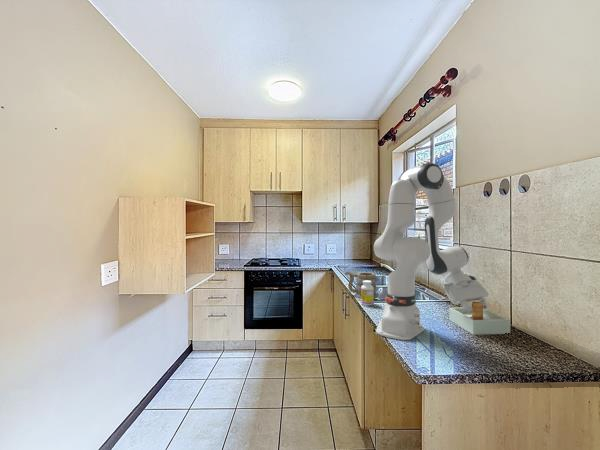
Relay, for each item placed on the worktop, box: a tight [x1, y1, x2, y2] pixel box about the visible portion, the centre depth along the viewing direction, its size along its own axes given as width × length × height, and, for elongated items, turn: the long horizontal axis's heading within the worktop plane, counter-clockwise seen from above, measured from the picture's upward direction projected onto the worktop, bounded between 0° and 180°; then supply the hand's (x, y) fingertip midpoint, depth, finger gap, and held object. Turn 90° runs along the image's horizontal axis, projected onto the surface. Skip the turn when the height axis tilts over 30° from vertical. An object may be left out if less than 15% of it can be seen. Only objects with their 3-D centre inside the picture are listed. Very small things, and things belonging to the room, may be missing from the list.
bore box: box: [448, 306, 511, 336], centre depth 125 cm, size 18×15×6 cm
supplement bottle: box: [360, 280, 375, 307], centre depth 162 cm, size 7×7×13 cm
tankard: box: [344, 270, 379, 300], centre depth 180 cm, size 20×13×15 cm, turn 57°
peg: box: [471, 301, 483, 320], centre depth 125 cm, size 4×4×10 cm
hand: (478, 309), depth 125 cm, fingers open, 8 cm apart
